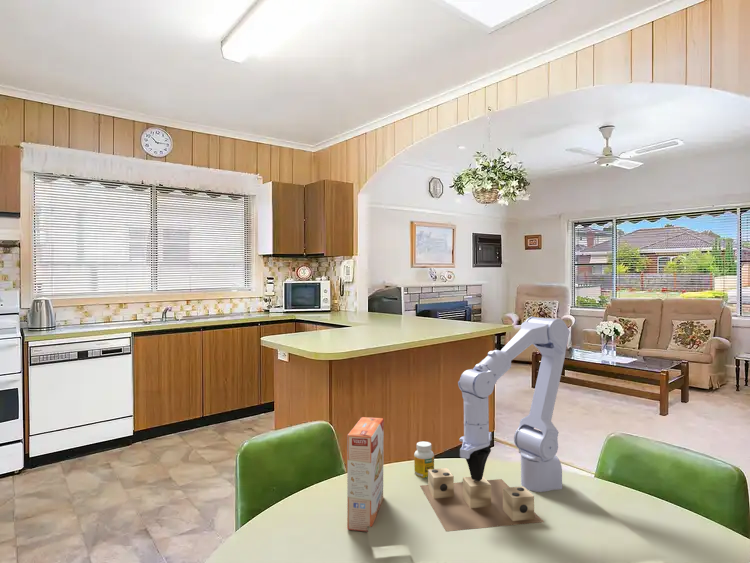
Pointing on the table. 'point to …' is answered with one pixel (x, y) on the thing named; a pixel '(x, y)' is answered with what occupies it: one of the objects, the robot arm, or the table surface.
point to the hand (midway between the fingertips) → (476, 479)
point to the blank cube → (476, 492)
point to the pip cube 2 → (518, 503)
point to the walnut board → (473, 509)
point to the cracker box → (364, 473)
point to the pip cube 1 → (440, 483)
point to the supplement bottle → (423, 459)
